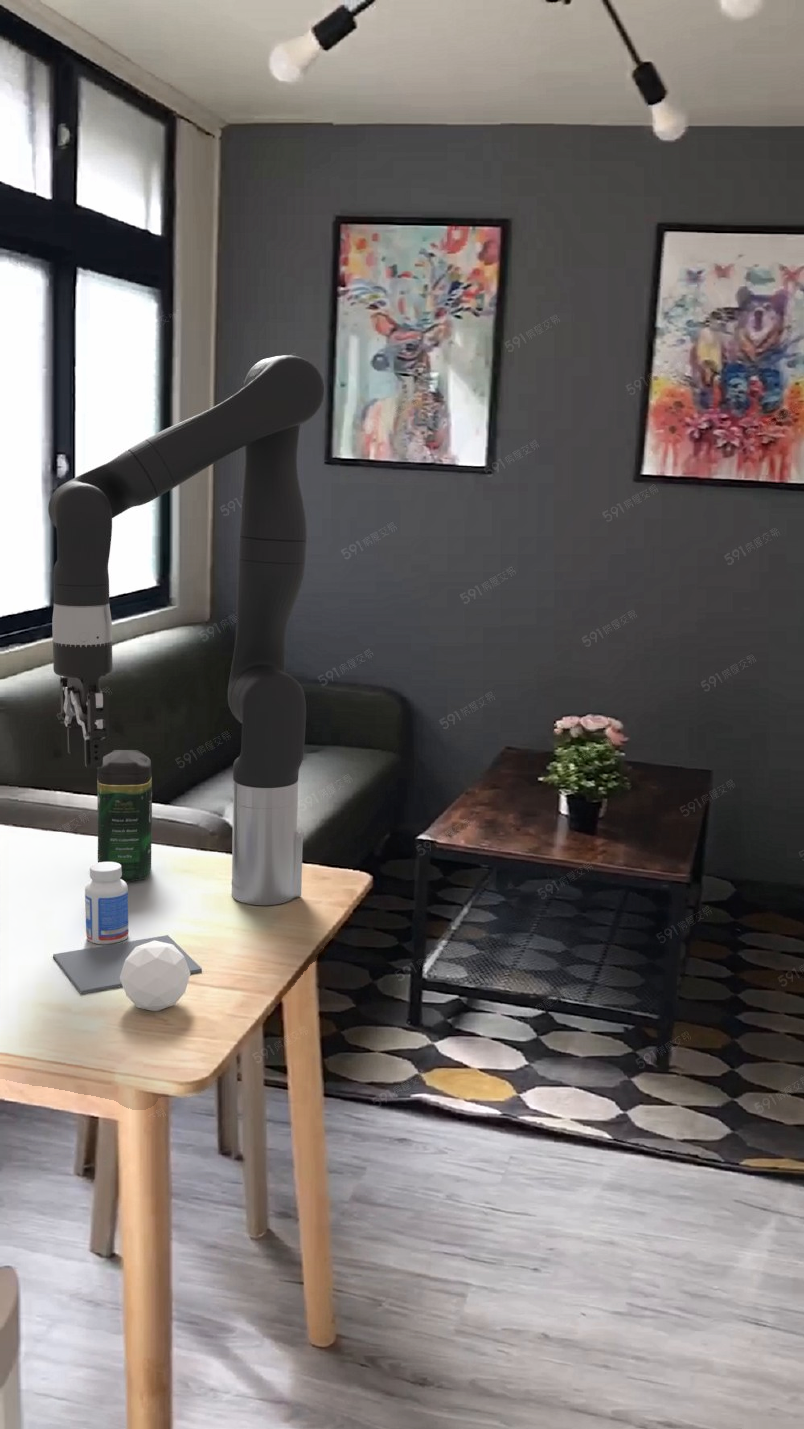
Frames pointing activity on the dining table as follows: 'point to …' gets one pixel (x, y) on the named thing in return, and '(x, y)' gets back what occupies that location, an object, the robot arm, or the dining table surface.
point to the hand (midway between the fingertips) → (85, 760)
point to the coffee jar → (125, 812)
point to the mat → (106, 964)
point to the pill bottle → (106, 904)
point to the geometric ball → (155, 975)
